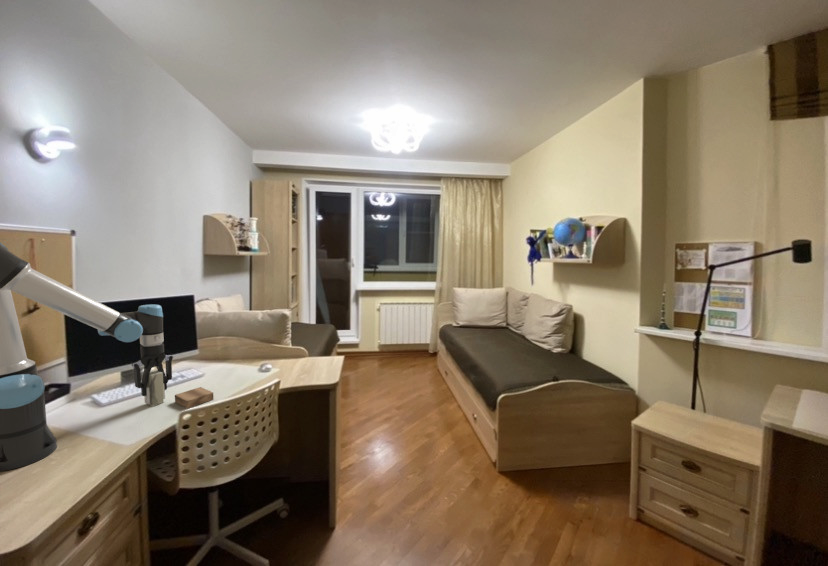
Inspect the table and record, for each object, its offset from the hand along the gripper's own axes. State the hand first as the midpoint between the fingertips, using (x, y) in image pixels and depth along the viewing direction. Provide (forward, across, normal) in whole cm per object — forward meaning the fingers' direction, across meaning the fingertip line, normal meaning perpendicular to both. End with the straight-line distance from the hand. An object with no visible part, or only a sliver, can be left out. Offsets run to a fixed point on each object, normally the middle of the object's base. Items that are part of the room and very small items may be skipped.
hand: (154, 400), depth 141 cm
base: (+1, +10, -10) cm, 14 cm away
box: (+1, 0, 0) cm, 1 cm away
